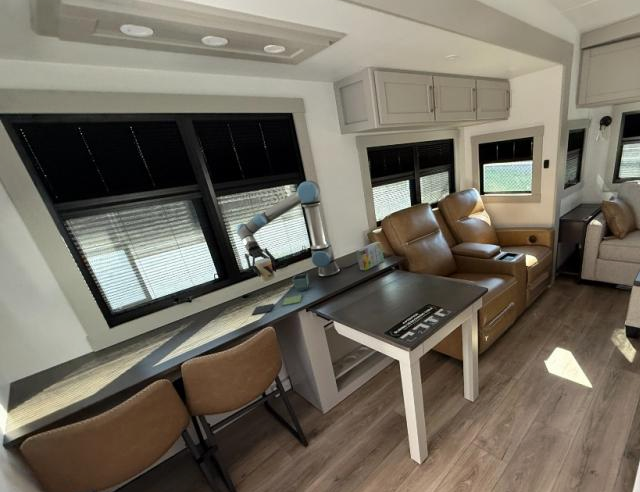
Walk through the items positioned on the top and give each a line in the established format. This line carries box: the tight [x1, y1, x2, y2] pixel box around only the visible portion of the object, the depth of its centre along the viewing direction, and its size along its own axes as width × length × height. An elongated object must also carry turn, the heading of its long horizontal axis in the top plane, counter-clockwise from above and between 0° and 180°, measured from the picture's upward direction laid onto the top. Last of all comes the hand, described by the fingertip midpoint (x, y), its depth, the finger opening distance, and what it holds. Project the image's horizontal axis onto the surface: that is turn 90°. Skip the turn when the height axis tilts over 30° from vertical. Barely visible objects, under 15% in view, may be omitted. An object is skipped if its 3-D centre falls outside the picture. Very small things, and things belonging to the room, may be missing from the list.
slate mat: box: [251, 303, 275, 316], centre depth 183 cm, size 10×10×1 cm
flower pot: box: [291, 273, 310, 292], centre depth 203 cm, size 9×9×9 cm
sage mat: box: [281, 294, 303, 307], centre depth 189 cm, size 10×10×1 cm
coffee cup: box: [255, 257, 275, 282], centre depth 193 cm, size 9×9×12 cm
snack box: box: [355, 241, 385, 272], centre depth 228 cm, size 21×6×15 cm, turn 141°
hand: (268, 273), depth 191 cm, fingers closed on coffee cup, 9 cm apart
